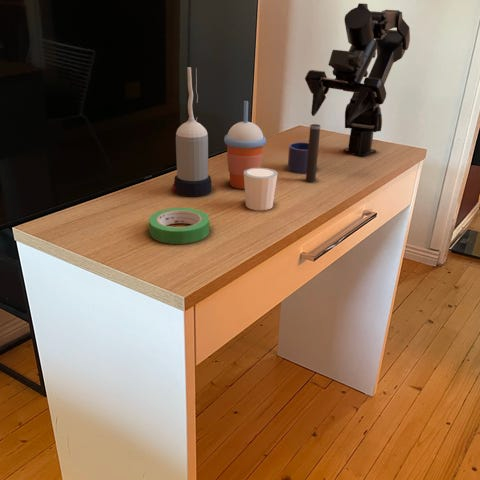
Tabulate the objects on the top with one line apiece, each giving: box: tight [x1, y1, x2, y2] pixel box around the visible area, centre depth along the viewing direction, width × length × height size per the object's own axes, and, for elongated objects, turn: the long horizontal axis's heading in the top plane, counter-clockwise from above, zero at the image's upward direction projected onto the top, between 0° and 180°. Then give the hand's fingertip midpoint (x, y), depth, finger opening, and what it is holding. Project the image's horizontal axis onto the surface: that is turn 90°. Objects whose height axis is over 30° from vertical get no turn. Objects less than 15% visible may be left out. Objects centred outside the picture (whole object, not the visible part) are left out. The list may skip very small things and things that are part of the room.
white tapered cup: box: [244, 167, 278, 211], centre depth 118 cm, size 7×7×7 cm
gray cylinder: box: [305, 123, 321, 183], centre depth 131 cm, size 2×2×12 cm
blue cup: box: [287, 141, 309, 174], centre depth 140 cm, size 7×7×6 cm
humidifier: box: [172, 66, 212, 198], centre depth 120 cm, size 8×8×25 cm
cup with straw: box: [223, 100, 267, 190], centre depth 126 cm, size 9×9×18 cm
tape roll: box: [148, 207, 210, 245], centre depth 107 cm, size 11×11×3 cm
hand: (330, 117), depth 132 cm, fingers open, 9 cm apart
